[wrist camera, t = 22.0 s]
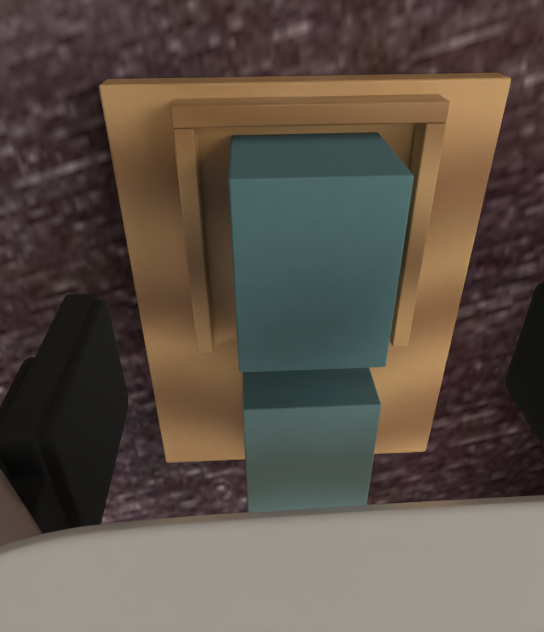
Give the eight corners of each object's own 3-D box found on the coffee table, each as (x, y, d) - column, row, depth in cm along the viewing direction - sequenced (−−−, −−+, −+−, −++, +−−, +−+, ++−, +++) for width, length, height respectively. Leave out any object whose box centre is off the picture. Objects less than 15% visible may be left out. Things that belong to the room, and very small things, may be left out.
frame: (105, 78, 16) (55, 119, 11) (499, 72, 16) (588, 108, 12) (168, 446, 24) (153, 544, 20) (420, 436, 25) (455, 529, 21)
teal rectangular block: (230, 134, 16) (228, 179, 12) (378, 131, 16) (415, 175, 13) (239, 302, 19) (238, 373, 16) (361, 298, 19) (386, 368, 16)
